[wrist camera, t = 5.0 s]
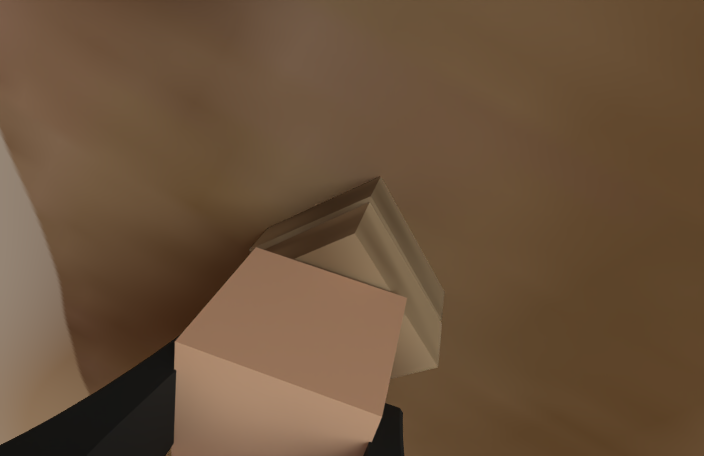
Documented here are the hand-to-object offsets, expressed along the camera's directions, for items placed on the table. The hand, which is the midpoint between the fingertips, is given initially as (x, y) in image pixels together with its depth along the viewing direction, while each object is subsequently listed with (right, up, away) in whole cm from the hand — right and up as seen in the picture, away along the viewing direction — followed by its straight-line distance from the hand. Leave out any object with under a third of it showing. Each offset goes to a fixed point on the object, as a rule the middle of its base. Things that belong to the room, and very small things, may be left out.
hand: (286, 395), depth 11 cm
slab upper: (+1, +2, +4) cm, 5 cm away
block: (+1, +1, +2) cm, 3 cm away
